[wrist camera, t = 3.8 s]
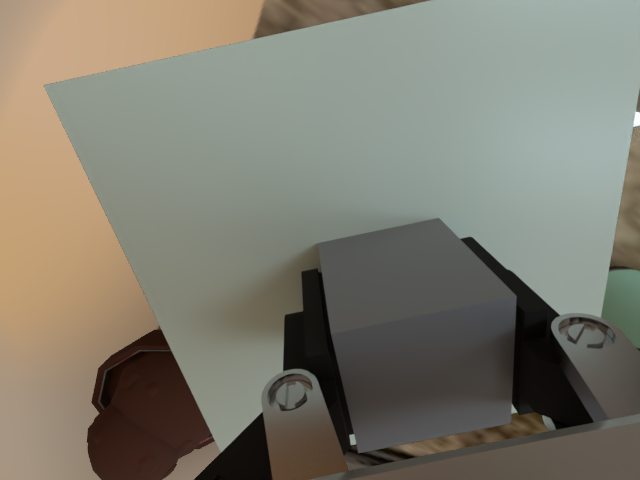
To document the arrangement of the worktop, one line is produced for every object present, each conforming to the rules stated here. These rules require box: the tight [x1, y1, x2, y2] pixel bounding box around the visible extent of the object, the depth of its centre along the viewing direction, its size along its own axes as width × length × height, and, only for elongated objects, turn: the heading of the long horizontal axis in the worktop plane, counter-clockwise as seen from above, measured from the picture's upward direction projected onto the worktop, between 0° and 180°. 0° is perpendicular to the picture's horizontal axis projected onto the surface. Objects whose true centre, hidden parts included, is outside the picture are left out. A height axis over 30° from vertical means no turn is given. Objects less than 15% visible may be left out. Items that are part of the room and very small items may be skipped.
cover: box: [44, 0, 640, 453], centre depth 19 cm, size 16×16×23 cm
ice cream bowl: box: [87, 330, 215, 480], centre depth 29 cm, size 11×11×15 cm
